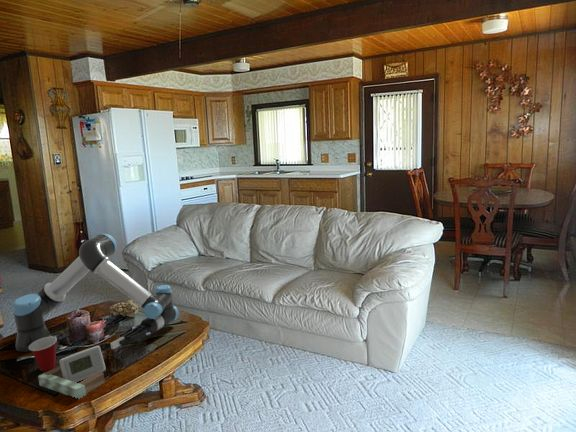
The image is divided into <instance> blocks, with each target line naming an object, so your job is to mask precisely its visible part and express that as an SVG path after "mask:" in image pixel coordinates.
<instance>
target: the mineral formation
mask: <svg viewBox="0 0 576 432" xmlns="http://www.w3.org/2000/svg"><path fill="white" fill-rule="evenodd" d="M139 307H140V306H139V305H138V304H136V303H135V302H134V301H133V300H131V299H129V300H127V301H126V302H118V303H115V304H113V305H112V306H110V307H109V309H110V310H111V314H112V315H113V316H115V317H116V316H118V315H121V316H122V317H124V318H125V317H130V318H134V317H135V315H136V314H137V313H138V312H139Z"/></svg>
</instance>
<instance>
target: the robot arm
mask: <svg viewBox="0 0 576 432" xmlns="http://www.w3.org/2000/svg"><path fill="white" fill-rule="evenodd" d="M117 249H118V246H117V241H116V239H115V238H114V237H113V236H112V235H111V234H109V233H99V234H97V235H96V236H93V237H92V238H90V239H88V240H85V241H84V242H83V243H82V244H81V245H80V247H79V250H78V257H77V258H75V260H73V261H72V262H71V263H70V265H68V266H67V267H66V269H64V271H62V272H61V274H58V276H57V277H56V278H55V279H54V280H53V281H52V282H47V283H46V284H45V285H44V286H42V288H41V289H39V291H37V292H36V293H29V294H24V296H20V297H18V298H17V299H15V300H14V301H13V303H12V312H13V316H14V317H13V318H14V321H15V322H14V323H15V326H16V332H17V333H16V338H15V350H16V351H18V352H22V353H24V352H32V351H31V350H30V349H29V345H30V344H31V343H33V342H35V341H36V340H39V339H41V338H45V337H51V336H52V334H51V332H50V331H49V329H48V328H47V326H46V323H45V317H46V316H47V315H48V314H50V313H52V312H53V311H54V310H56V309H58V308H59V307H60V306H61V305H62V303H63V301H64V300H65V299H66V297H67V296H66V294H67V293H69V292H70V290H71V289H72V288H73V287H74V286H76V284H78V283H79V282H80V281H81V280H82V279H83V278H84V277H85V276H86V275H87V274H88V273H89V272H92V273H93V274H94V275H95V274H98V275H99V276H101V277H102V278H104V280H106V281H107V282H108V283H109V284H110V285H112V286H114V287H115V288H116V289H118V291H120V292H121V293H122V294H124V295H125V296H126V297H127V298H129V300H133V301H134V302H135V304H138V305H139V306H138V307H140V308H142V310H143V314H144V316H145V317H146V318H144V319H143V320H141V322H140V324H138V325H136V326H133V325H130V326H129V327H128V328H127V329H126V330H124V331H123V332H121V333H120V334H119V338H117V339H116V340H113V341H112V342H110V348H111V349H112V350H116V349H117V348H119V347H121V346H122V345H124V344H127V343H130V344H131V343H134V342H136V341H139V340H142V339H144V338H146V337H150V336H152V334H153V333H155V332H157V331H159V330H160V329H162V328H164V327H166V326H168V325H169V324H171V323H173V322H174V321H176V320H177V319H178V318H179V316H180V312H179V309H178V307H177V306H176V305H174V303H173V294H172V293H173V292H172V287H171V286H170V285H169V284H162V285H157V286H156V287H155V295H154V294H152V293H151V292H150V291H148V290H147V289H146V288H144V287H143V286H142V285H141V284H139V283H138V281H136V280H134V278H132V277H131V276H129V274H127V273H126V272H124V271H123V270H122V269H120V267H118V265H116V264H114V263H113V262H112V261H111V260H110V257H111V256H113V255H114V254H115V253H116V251H117Z"/></svg>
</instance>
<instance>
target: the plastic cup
mask: <svg viewBox="0 0 576 432" xmlns="http://www.w3.org/2000/svg"><path fill="white" fill-rule="evenodd" d="M57 340H58V338H57V337H56V336H53V335H51V337H45V338H41V339H39V340H36V341H35V342H33V343H31V344H30V345H29V349H30V350H31V351H30V352H32V354H33V357H34V359H35V361H36V363H37V366H38V368H39V370H40V371H41V372H48V371H50V370H52V369H54V368H56V361H57V360H56V359H57V356H56V355H57V354H56V353H57Z"/></svg>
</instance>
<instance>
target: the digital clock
mask: <svg viewBox="0 0 576 432" xmlns="http://www.w3.org/2000/svg"><path fill="white" fill-rule="evenodd" d="M58 363H59V365H60V367H61V371H62V375H63V377H62V378H64V379H67V380H70V381H73V382H76V383H77V382H78V383H80V382H79V381H81V382H82V380H85V379H87V378H88V377H90V376H92V375H93V374H95V373H97V372H102V373H104V372H106V370H107V369H106V364H105V360H104V356H103V353H102V349H101V346H100V345H95V346H93V347H90V348H89V347H88V348H85V349H82V350H80V351H77V352H75V353H72V354H70V355H67V356H66V357H63V358H61V359H59V361H58Z"/></svg>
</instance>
